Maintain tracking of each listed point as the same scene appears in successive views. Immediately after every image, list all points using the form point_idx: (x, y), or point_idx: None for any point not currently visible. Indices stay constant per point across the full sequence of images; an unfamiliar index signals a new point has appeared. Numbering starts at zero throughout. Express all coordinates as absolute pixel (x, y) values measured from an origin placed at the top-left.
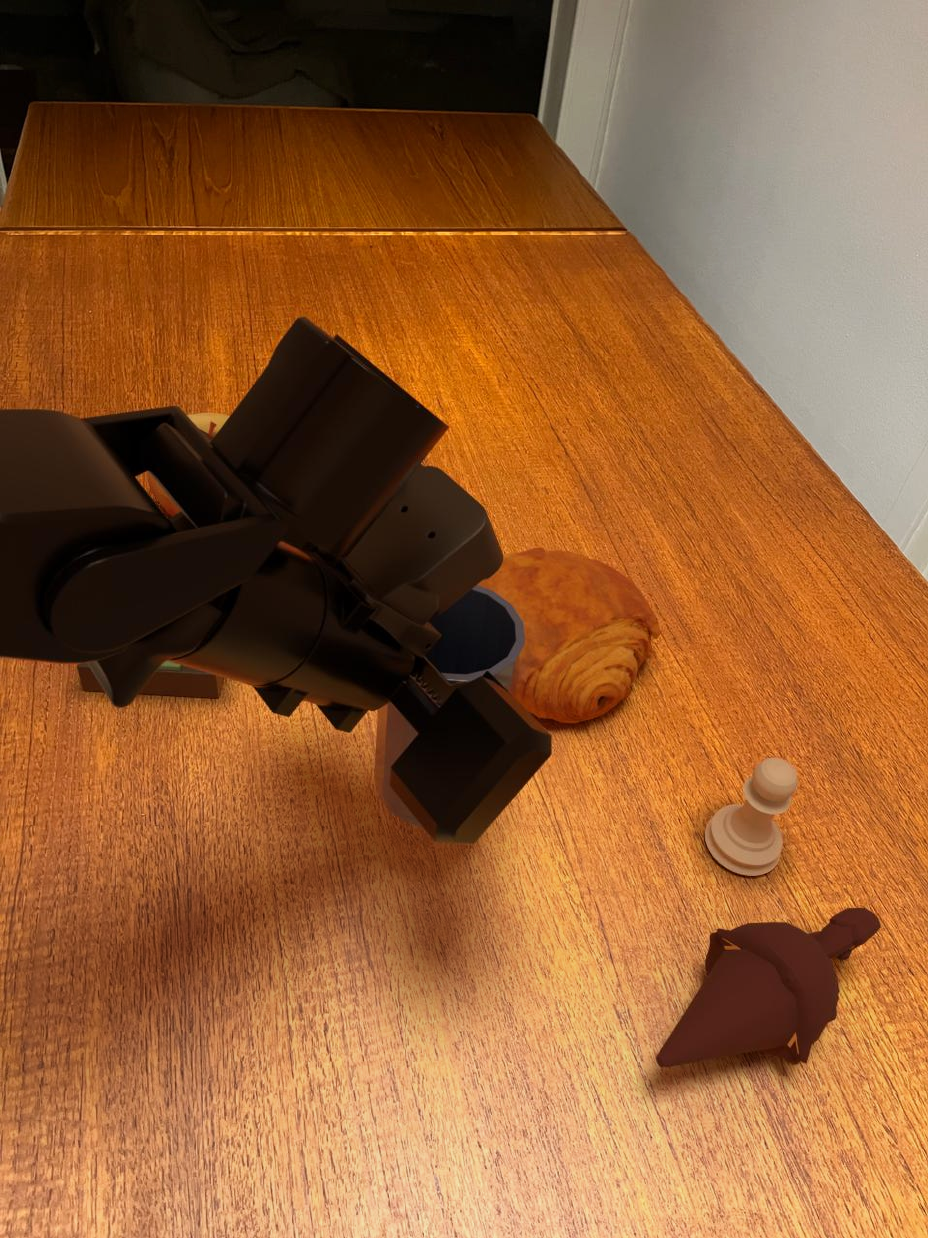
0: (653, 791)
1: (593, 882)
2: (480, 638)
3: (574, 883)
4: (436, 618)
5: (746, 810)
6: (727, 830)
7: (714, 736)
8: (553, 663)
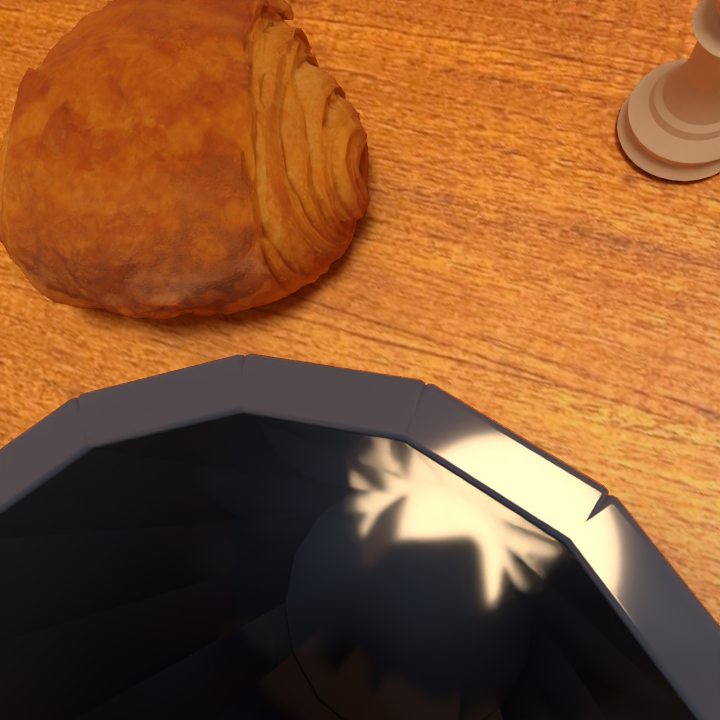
0: (525, 192)
1: (631, 377)
2: (241, 474)
3: (618, 406)
4: (59, 633)
5: (717, 79)
6: (686, 133)
7: (482, 51)
8: (268, 205)
